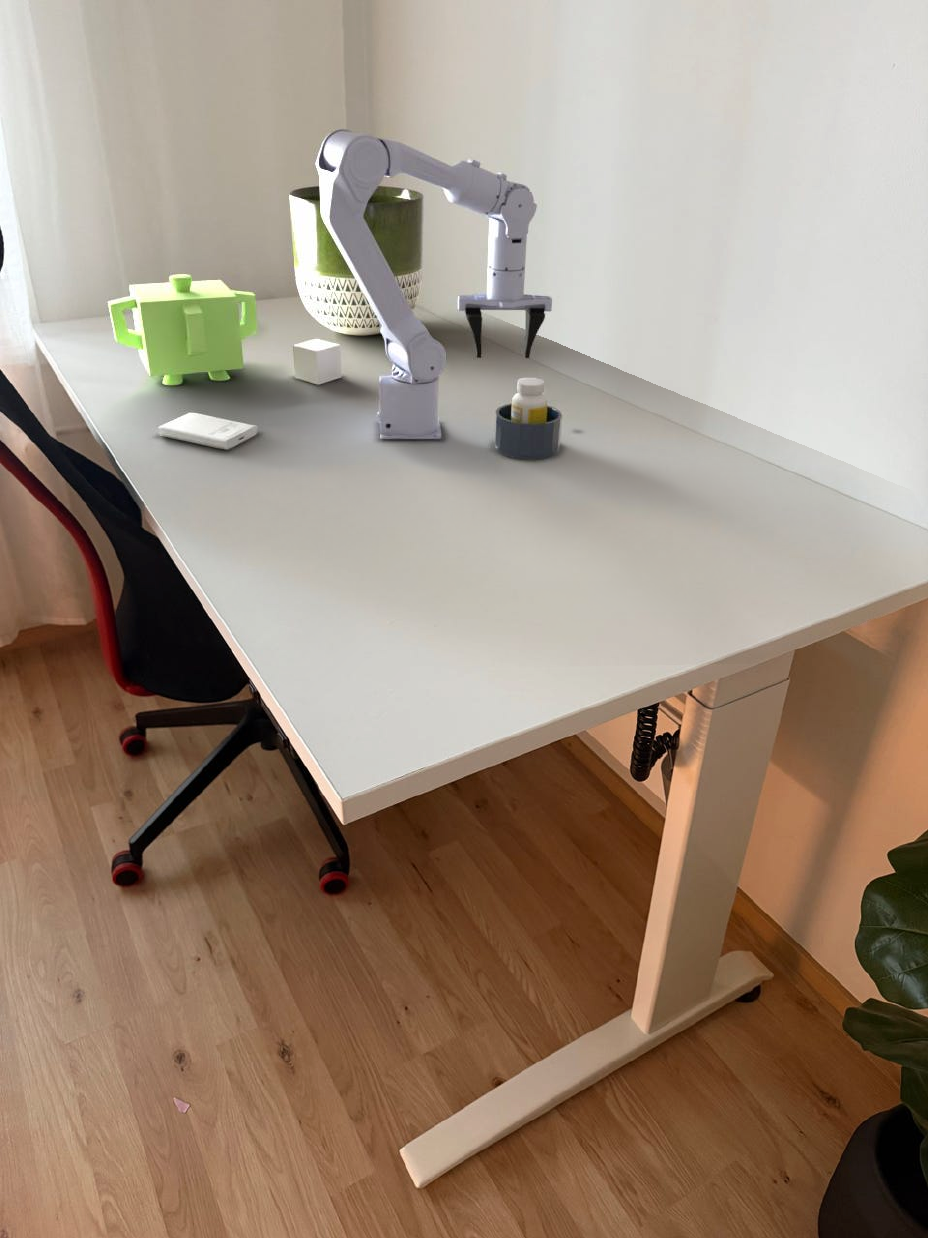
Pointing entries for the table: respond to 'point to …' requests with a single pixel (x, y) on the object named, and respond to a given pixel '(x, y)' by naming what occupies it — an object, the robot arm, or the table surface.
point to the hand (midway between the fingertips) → (502, 356)
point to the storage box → (186, 327)
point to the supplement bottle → (529, 402)
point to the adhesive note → (317, 361)
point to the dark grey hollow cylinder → (527, 435)
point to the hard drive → (208, 430)
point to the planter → (328, 274)
